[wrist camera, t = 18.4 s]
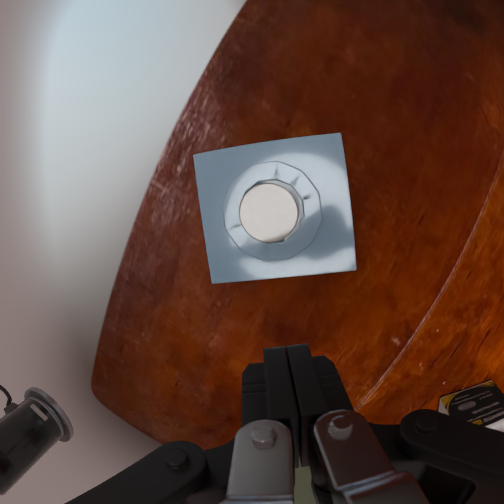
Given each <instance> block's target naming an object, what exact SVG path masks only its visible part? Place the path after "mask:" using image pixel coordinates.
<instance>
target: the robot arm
mask: <svg viewBox="0 0 504 504" xmlns="http://www.w3.org/2000/svg"><path fill="white" fill-rule="evenodd" d="M263 352H264V363H254V364H248V366H247V367H246V369H245V370H244V372H243V373H242V411H241V429H240V430H239V431H238V432H237V434H236V437H235V438H234V439H233V440H232V441H230V442H229V443H227V444H225V445H222V446H219V447H216V448H212V449H208V450H204V451H203V450H202V449H201V448H200V447H199V446H198V445H196V444H194V443H191V442H187V441H174V442H169V443H166V444H164V445H162V446H160V447H159V448H157V449H156V450H154V451H153V452H151V453H150V454H148V455H147V456H145V457H144V458H142V459H140V460H139V461H138V462H136V463H134V464H133V465H131V466H130V467H128V468H126V469H125V470H123V471H121V472H120V473H118V474H116V475H115V476H113V477H112V478H110V479H108V480H106V481H105V482H103V483H102V484H100V485H98V486H96V487H94V488H93V489H91V490H89V491H87V492H85V493H84V494H82V495H80V496H78V497H76V498H75V499H72V500H71V501H69V502H67V503H65V504H295V501H294V486H295V468H299V457H300V463H301V467H307V466H310V471H311V476H312V477H311V488H312V491H313V495H314V498H315V502H316V504H504V432H502V431H498V430H495V429H491V428H488V427H484V426H481V425H478V424H475V423H471V422H468V421H465V420H462V419H459V418H456V417H453V416H450V415H447V414H444V413H441V412H438V411H435V410H430V409H420V410H416V411H413V412H411V413H409V414H407V415H406V416H405V417H404V418H403V419H402V421H401V424H398V425H378V424H372V423H369V422H367V420H366V419H365V418H364V417H363V416H362V415H361V414H359V413H357V412H355V411H354V409H353V407H352V405H351V402H350V400H349V398H348V395H347V393H346V391H345V388H344V386H343V384H342V382H341V379H340V377H339V375H338V374H337V370H336V368H335V365H334V363H333V362H332V361H330V360H329V359H328V358H327V357H325V356H324V355H322V356H315V357H312V356H311V353H310V350H309V347H308V345H307V343H306V344H298V345H290V346H286V352H285V347H284V346H282V347H272V348H263ZM0 390H2V391H3V392H4V393H5V394H6V396H7V397H8V401H7V404H6V406H7V407H6V408H4V411H5V413H6V415H5V416H4V417H3V418H1V419H0V495H4V494H5V493H6V492H8V490H10V488H12V487H13V486H14V485H15V484H16V483H17V482H18V481H19V480H20V478H21V477H22V476H23V475H24V474H25V473H26V472H27V471H28V470H29V469H30V468H31V467H32V466H33V465H34V464H35V463H36V462H37V461H38V460H39V459H40V458H41V457H42V456H43V455H44V454H45V453H46V452H47V451H48V450H49V449H50V448H51V447H52V446H53V445H54V444H55V443H56V442H57V441H58V440H59V439H61V438H62V437H63V436H64V434H65V430H64V427H63V424H62V422H61V421H60V419H59V418H58V416H57V415H56V413H55V412H54V411H53V410H52V409H51V408H50V407H49V406H48V405H47V404H46V403H45V402H44V401H43V400H41V399H40V398H38V397H36V396H30V397H29V398H28V399H25V400H24V401H23V402H22V403H20V404H19V405H17V404H15V403H11V401H12V398H11V396H10V394H9V393H8V392H7V391H6V389H5V388H3V387H2V386H1V385H0Z"/></svg>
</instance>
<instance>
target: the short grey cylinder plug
mask: <svg viewBox="0 0 504 504" xmlns="http://www.w3.org/2000/svg"><path fill="white" fill-rule="evenodd" d="M298 217H299V206H298V202H297V200H296V198H295V196H294V195H293V194H292V192H290V191H289V190H288V189H287V188H285V187H283V186H280V185H278V184H273V183H263V184H259V185H257V186H255V187H253V188H251V189H250V190H249V191H248V192H247V193H246V194H245V195H244V197H243V198H242V201H241V203H240V207H239V218H240V222H241V225H242V227H243V228H244V230H245V231H246V232H247V234H249V235H250V236H251V237H252V238H254V239H256V240H258V241H261V242H267V243H272V242H277V241H280V240H282V239H284V238H286V237H287V236H288V235H289V234H290V233H291V232H292V231H293V229H294V228H295V226H296V224H297V221H298Z"/></svg>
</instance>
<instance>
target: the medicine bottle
mask: <svg viewBox="0 0 504 504" xmlns="http://www.w3.org/2000/svg"><path fill="white" fill-rule="evenodd" d="M438 412H441V413H444V414H447V415H450V416H453V417H456V418H459V419H462V420H465V421H468V422H471V423H475V424H478V425H481V426H484V427H488V428H491V429H495V430H498V431H502V432H504V394H503V393H502V392H501V390H500V389H499V388H498V387H497V385H496V384H495V383H494V382H493V381H492V380H490V381H487V382H485V383H482V384H479V385H476V386H474V387H471V388H468V389H465V390H462V391H459V392H456V393H453V394H450V395H447V396H443V397H441V398H440V402H439V409H438Z"/></svg>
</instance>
